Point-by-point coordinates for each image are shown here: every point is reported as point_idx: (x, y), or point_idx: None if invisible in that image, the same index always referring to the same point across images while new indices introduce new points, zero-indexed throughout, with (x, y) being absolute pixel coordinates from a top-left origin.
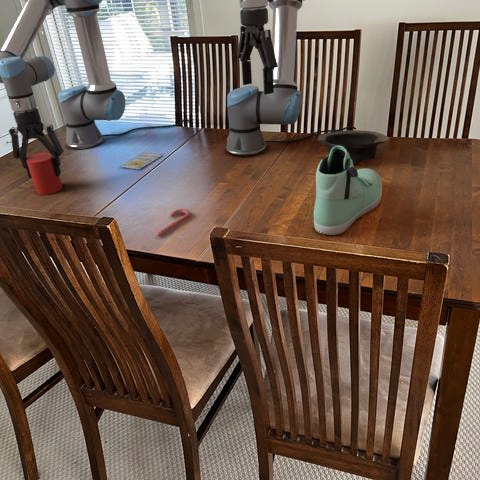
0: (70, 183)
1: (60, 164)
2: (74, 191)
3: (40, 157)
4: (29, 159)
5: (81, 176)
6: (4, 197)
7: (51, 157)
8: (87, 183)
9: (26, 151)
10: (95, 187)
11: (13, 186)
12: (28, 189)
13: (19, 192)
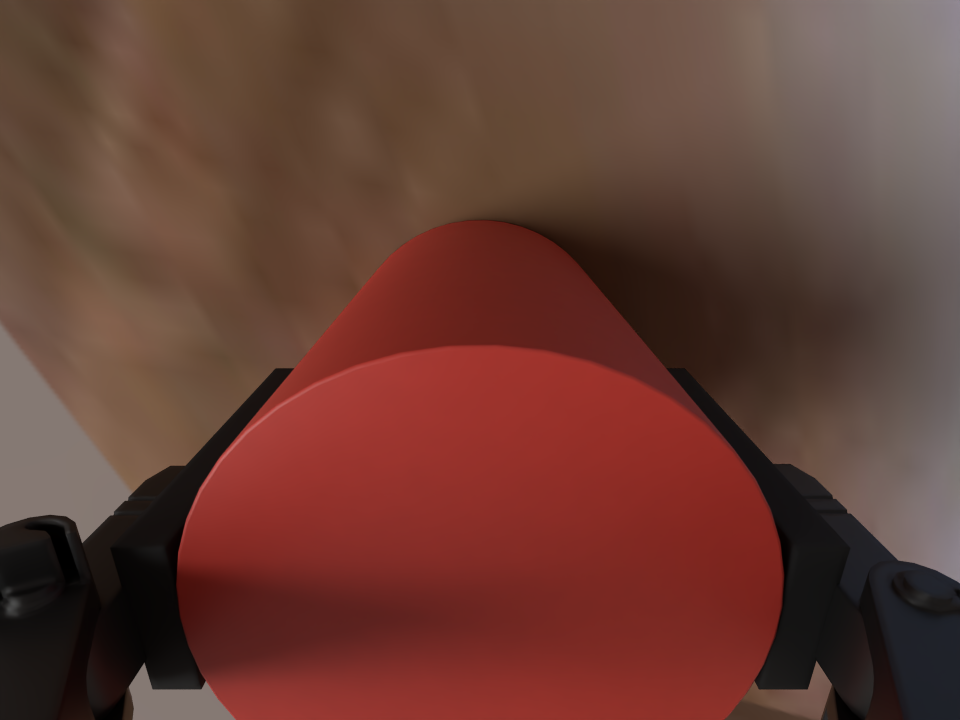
0: (672, 228)
1: (790, 476)
2: (744, 424)
3: (501, 636)
4: (285, 694)
5: (781, 22)
6: (101, 453)
7: (762, 662)
8: (864, 259)
9: (66, 713)
10: (946, 369)
11: (14, 208)
12: (246, 314)
13: (187, 371)
